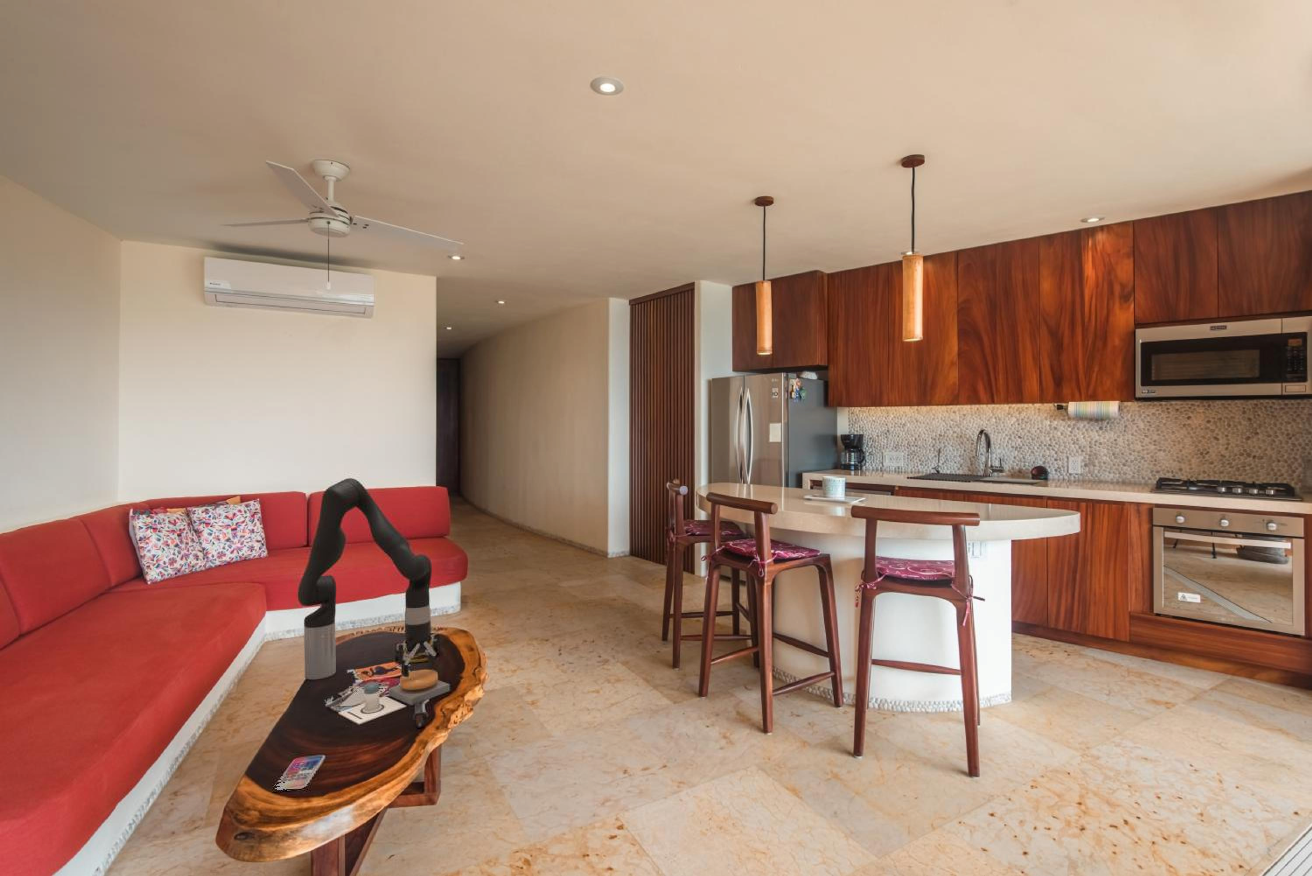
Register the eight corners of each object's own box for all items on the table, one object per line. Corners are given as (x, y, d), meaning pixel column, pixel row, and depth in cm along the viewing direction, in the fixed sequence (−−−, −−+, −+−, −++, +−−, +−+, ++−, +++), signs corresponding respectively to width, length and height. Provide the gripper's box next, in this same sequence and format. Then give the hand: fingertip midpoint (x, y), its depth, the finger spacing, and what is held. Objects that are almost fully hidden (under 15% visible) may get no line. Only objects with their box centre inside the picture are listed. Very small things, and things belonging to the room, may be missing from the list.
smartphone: (269, 791, 137) (294, 758, 152) (269, 796, 137) (294, 762, 152) (305, 786, 139) (326, 753, 153) (305, 791, 139) (326, 757, 153)
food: (416, 649, 233) (415, 628, 233) (446, 653, 228) (446, 631, 228) (388, 662, 220) (388, 639, 220) (420, 666, 215) (420, 643, 215)
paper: (338, 713, 178) (338, 712, 178) (384, 697, 189) (384, 695, 189) (359, 724, 170) (359, 723, 170) (405, 706, 182) (405, 705, 182)
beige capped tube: (361, 709, 179) (361, 685, 179) (375, 704, 183) (374, 680, 183) (368, 712, 177) (368, 688, 177) (382, 707, 180) (381, 683, 180)
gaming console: (363, 681, 201) (394, 680, 202) (363, 683, 201) (394, 682, 202) (332, 711, 179) (367, 709, 180) (332, 713, 179) (367, 712, 180)
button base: (388, 695, 190) (388, 688, 190) (426, 681, 201) (426, 675, 201) (411, 705, 182) (411, 698, 182) (449, 690, 193) (449, 684, 193)
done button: (393, 684, 191) (392, 678, 191) (425, 673, 199) (425, 667, 199) (412, 692, 184) (412, 686, 184) (444, 681, 193) (444, 674, 193)
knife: (429, 696, 192) (412, 698, 190) (429, 689, 192) (412, 692, 191) (433, 727, 168) (413, 730, 166) (433, 719, 168) (413, 723, 166)
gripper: (402, 627, 184) (403, 682, 183) (444, 616, 195) (445, 667, 195) (389, 623, 188) (390, 676, 188) (431, 613, 200) (432, 663, 199)
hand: (418, 672), depth 191 cm, fingers open, 8 cm apart
